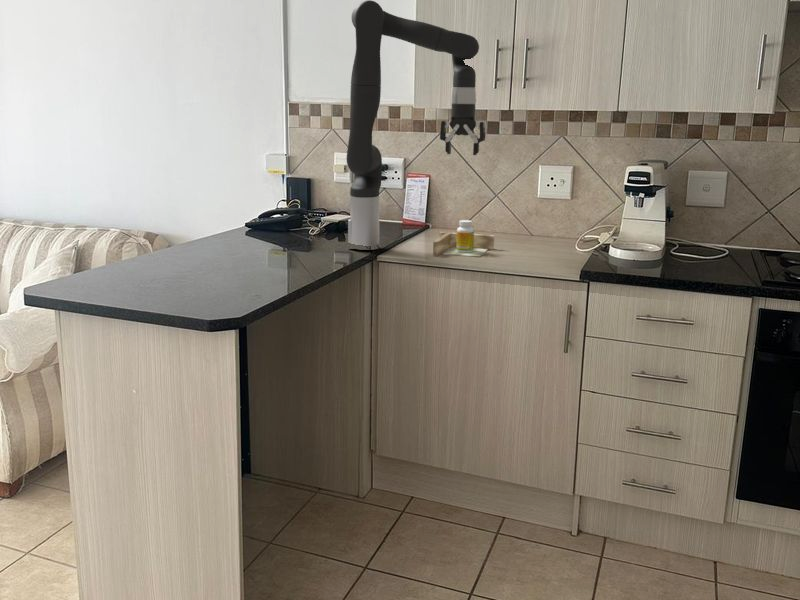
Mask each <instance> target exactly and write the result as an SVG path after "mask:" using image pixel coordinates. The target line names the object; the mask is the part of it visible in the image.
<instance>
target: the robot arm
mask: <svg viewBox="0 0 800 600" xmlns="http://www.w3.org/2000/svg"><path fill="white" fill-rule="evenodd" d="M351 23H352V25H353V27H354V28H355V55H354V59H353V65H352V68H351V69H352V71H351V78H350V103H349V105H350V108H349V109H350V110H349V112H350V113H349V136H348V143H347V149H346V165H347V167H348V169H349V171H350V172H351V173H352V174H354V176H353V182H352V184H351V186H350V188H349V190H350V191H349V192H350V193H349V196H350V200H349V201H350V202H349V203H350V204H349V206H350V207H349V208H350V209H349V210H350V216H349V217H350V219H348V220H347V229H348V230H347V236H348V237H347V239H348V243H351V244H355V245H363V246H374V245H378V244H379V245H380V191H381V190H380V189H381V186H382V177H383V176H382V173H383V159H382V154H381V151H380V149H379V148H378V147H377V146H375V145H373V130H374V124H375V121H376V118H377V115H378V111H379V108H380V105H381V104H380V103H381V92H382V90H381V89H382V65H381V46H382V45H381V44H382V38H383V36H385V37H390V38H394V39H398V40H402V41H404V42H408V43H410V44H412V45H416V46H419V47H421V48H425V49H426V50H427V49H428V50H431V51H433V52H434V51H435V52H440V53H447V54H450V55H451V59H452V60H451V61H452V62H451V63H452V68H453V69H452V70H453V76H452V91H451V113H450V114H451V117H450V121H449V120H442V121H441V122H440V133H439V139H440V140H441V141H443V142H444V143H445V153H446V154H447V155H451V154H452V142H451V141H452V139H454V137H455V136H456V135H457V136H469V137H470V138H471V139H472V141H473V150H472V153H473V154H472V155H473V156H477V155H478V154H479V151H480V143H483V142H485V140H486V123H485V121H481V122H480V121H479V122H478V121H476V106H477V105H476V103H477V95H476V81H477V80H476V70H475V69H473V68H474V67H473V68H472V67H470V66H468V65H465V63H464V61H463V60H465V59H471V58H473V59H474V57H475V56H476V55H477V54H478V53H479V50H480V45H479V41H478V40H477V39H476V37H474V36H473V35H469V34H467V33H463V32H458V31H453V30H450V29H446V28H443V27H440V26H439V25H438V26H437V25H434V24H432V23H431V24H430V23H427V22H423V21H419V20H413V19H408V18H405V17H401V16H397V15H395V14H391V13H389V12H387V11H385V10H384V9H383V8H382V6H381V5H380V4H379V3H377V2H376V1H374V0H364V1H361V2H360V3H359V4H357V5H356V6H355V7H354V9H353V10H352V13H351ZM475 105H476V106H475ZM448 127H450V128H451V129H452V130H451V131H450V132H449V133H448V135H447V136H446V134H447V128H448ZM476 127H477V129H479V137H478V135H477V133H476V132H475V128H476Z"/></svg>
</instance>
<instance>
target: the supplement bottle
mask: <svg viewBox="0 0 800 600" xmlns="http://www.w3.org/2000/svg"><path fill="white" fill-rule="evenodd" d="M458 225H459V227H457V228H456V233H457V251H458V252H463V253H468V252H473V249H474V234H475V229H474V228H473V227H472V225H473V221H472V220H468V219H461V220H459V223H458Z"/></svg>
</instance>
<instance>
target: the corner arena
mask: <svg viewBox="0 0 800 600" xmlns="http://www.w3.org/2000/svg"><path fill="white" fill-rule="evenodd" d="M432 245H433V247H432V256H433V257H438V256H440V255H441V254H442V255H445V256H456V257H457V256H458V257H461V256H462V257H469V256H471V257H470V258H482V256H483V255H484V254H485V253H487V252H488V249H489V251H491V250H492V251H493V250H495V248H494V247H495V235H493V234H480V233H478V234H477V233H474V249H473V252H468V253H463V252H458V251H457V232H447V231H439V237H438V238H437V239H435V240H434V241H433V244H432Z"/></svg>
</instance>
